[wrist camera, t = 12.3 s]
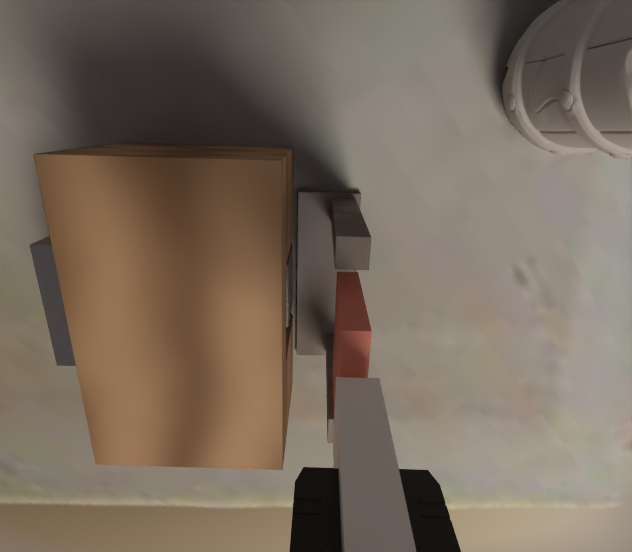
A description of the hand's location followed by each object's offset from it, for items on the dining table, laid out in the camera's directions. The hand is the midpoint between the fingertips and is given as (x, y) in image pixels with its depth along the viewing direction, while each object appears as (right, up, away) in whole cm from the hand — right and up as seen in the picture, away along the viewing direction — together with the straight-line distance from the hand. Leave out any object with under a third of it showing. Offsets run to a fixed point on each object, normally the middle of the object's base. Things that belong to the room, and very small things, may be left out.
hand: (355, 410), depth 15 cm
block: (-6, +5, +12) cm, 14 cm away
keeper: (0, +2, +6) cm, 7 cm away
